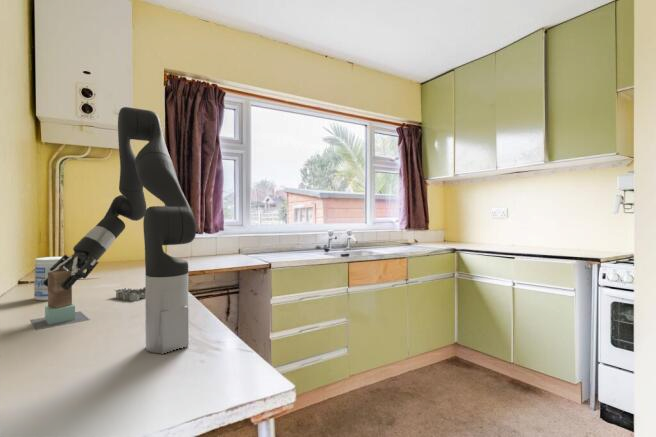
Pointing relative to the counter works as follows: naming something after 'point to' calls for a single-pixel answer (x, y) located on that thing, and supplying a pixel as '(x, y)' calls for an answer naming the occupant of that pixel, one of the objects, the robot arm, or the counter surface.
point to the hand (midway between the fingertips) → (54, 287)
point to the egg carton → (131, 294)
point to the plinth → (59, 314)
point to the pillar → (58, 289)
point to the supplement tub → (43, 276)
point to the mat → (43, 324)
